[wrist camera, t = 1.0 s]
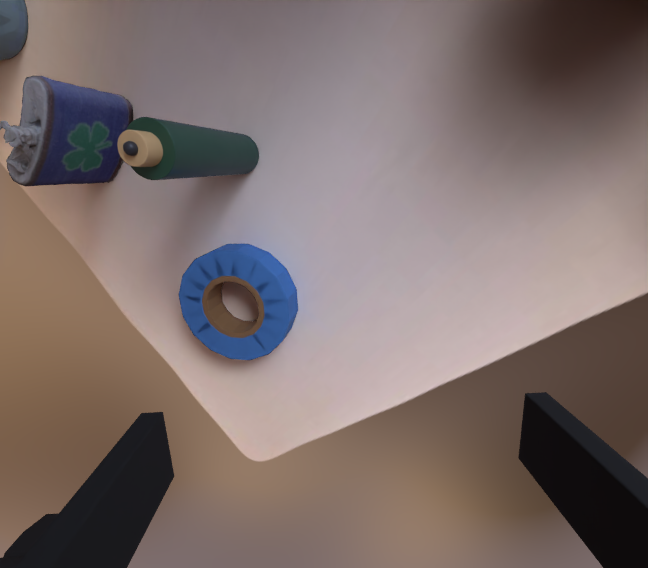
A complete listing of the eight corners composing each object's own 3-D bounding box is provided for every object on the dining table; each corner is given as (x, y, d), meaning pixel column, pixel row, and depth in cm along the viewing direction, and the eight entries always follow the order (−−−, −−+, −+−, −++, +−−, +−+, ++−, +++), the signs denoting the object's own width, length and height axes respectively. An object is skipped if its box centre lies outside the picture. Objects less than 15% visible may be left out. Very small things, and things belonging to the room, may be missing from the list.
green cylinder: (217, 144, 33) (86, 132, 20) (247, 126, 32) (131, 99, 19) (235, 180, 34) (120, 192, 20) (265, 163, 33) (165, 164, 19)
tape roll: (176, 268, 39) (159, 276, 36) (265, 225, 35) (253, 231, 32) (227, 358, 41) (214, 372, 39) (315, 328, 38) (308, 341, 35)
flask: (116, 90, 34) (-3, 61, 24) (141, 107, 34) (33, 85, 24) (91, 174, 37) (-21, 179, 28) (114, 189, 37) (10, 199, 28)
